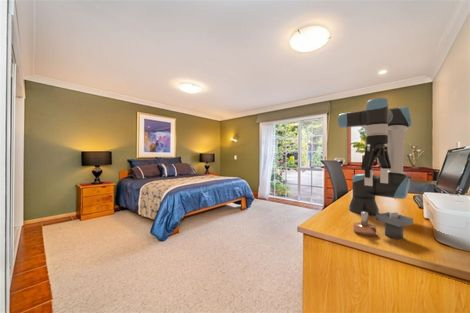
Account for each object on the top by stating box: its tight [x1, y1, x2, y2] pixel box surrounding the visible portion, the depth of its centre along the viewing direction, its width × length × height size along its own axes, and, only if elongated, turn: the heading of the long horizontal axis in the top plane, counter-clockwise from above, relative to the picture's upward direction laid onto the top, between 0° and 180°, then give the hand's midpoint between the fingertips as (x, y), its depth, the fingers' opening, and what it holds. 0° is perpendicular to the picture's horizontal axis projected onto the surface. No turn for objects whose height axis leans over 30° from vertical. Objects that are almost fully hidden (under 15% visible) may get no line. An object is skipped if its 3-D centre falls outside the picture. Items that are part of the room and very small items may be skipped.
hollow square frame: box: [375, 211, 414, 227], centre depth 82 cm, size 9×9×2 cm
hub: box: [352, 211, 377, 237], centre depth 85 cm, size 8×8×9 cm
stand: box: [384, 211, 404, 240], centre depth 82 cm, size 6×6×10 cm
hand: (376, 184), depth 83 cm, fingers open, 13 cm apart
